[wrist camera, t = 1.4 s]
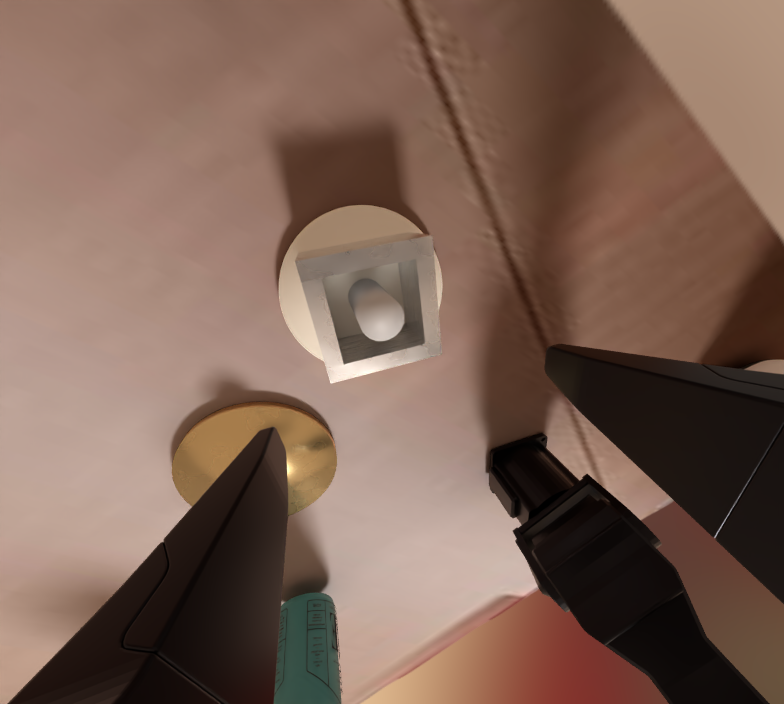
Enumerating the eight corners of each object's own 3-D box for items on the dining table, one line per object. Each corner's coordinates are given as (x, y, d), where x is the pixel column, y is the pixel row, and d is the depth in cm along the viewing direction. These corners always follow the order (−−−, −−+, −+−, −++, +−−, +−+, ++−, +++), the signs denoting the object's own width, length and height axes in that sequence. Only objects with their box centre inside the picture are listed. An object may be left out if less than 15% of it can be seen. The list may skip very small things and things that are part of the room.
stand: (431, 192, 18) (477, 182, 13) (442, 345, 23) (479, 380, 18) (253, 221, 17) (228, 223, 12) (307, 380, 22) (305, 430, 17)
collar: (409, 231, 18) (432, 235, 15) (420, 332, 21) (441, 354, 18) (298, 252, 17) (294, 261, 14) (327, 354, 20) (330, 383, 17)
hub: (315, 384, 22) (316, 436, 17) (349, 488, 27) (358, 553, 22) (143, 428, 20) (84, 503, 15) (216, 531, 26) (191, 613, 20)
